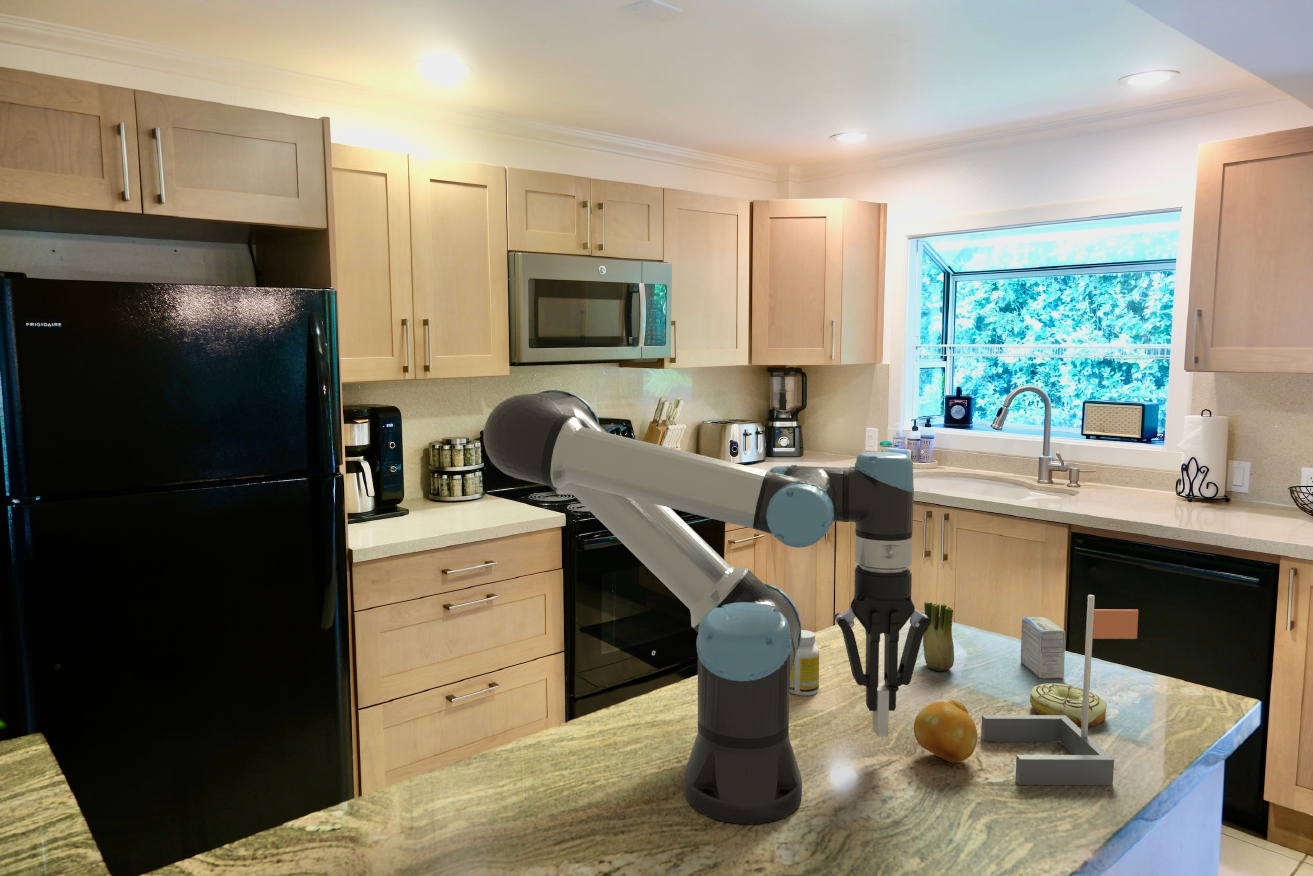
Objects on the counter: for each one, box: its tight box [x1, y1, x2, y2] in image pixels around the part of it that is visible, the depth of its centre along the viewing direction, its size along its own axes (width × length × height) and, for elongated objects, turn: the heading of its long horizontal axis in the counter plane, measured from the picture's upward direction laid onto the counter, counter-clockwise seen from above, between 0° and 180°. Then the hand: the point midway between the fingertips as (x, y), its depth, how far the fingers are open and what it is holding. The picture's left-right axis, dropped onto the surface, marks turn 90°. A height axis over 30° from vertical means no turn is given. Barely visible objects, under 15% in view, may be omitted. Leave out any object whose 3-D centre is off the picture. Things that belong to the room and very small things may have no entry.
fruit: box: [913, 699, 978, 763], centre depth 115 cm, size 8×8×8 cm
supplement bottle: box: [789, 629, 820, 697], centre depth 139 cm, size 5×5×10 cm
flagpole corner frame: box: [980, 594, 1139, 786], centre depth 114 cm, size 18×13×24 cm
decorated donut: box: [1029, 682, 1108, 727], centre depth 130 cm, size 10×11×4 cm
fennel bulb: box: [922, 600, 955, 672], centre depth 149 cm, size 6×5×12 cm
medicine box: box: [1020, 616, 1066, 680], centre depth 148 cm, size 8×4×9 cm, turn 179°
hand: (880, 732), depth 116 cm, fingers closed
